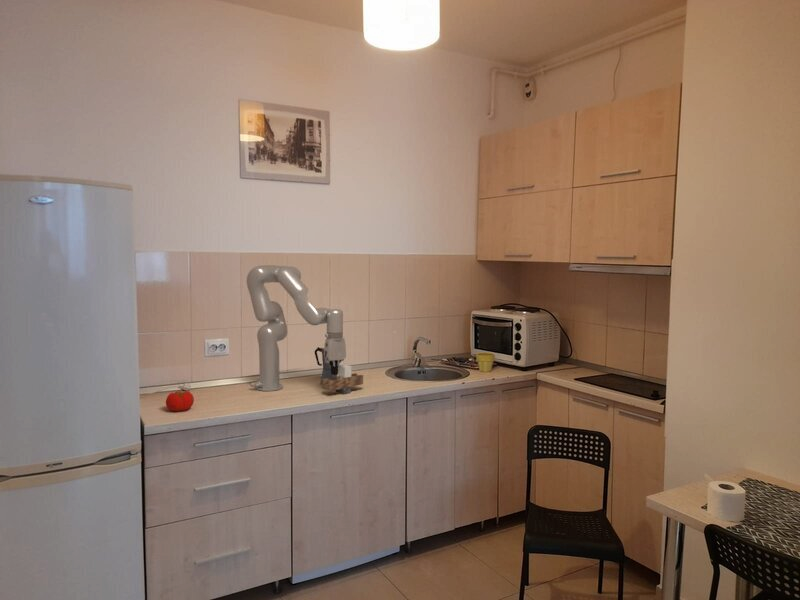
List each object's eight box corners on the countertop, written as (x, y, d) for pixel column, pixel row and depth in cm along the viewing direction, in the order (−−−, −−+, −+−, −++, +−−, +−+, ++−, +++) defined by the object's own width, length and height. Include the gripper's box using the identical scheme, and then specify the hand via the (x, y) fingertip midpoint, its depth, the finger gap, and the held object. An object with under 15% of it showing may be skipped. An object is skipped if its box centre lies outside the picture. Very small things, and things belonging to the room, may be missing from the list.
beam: (329, 397, 251) (330, 381, 251) (321, 394, 256) (321, 379, 255) (363, 390, 265) (363, 375, 265) (355, 387, 270) (355, 373, 269)
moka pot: (339, 386, 273) (339, 346, 271) (310, 384, 276) (310, 345, 274) (345, 381, 282) (345, 343, 281) (317, 380, 285) (317, 342, 284)
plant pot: (484, 368, 321) (484, 351, 320) (498, 371, 313) (498, 354, 312) (472, 370, 314) (472, 353, 313) (485, 373, 306) (486, 356, 306)
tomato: (196, 405, 235) (195, 388, 235) (190, 413, 224) (189, 395, 224) (170, 406, 234) (169, 389, 233) (163, 414, 223) (162, 396, 222)
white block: (344, 382, 258) (344, 367, 257) (338, 380, 261) (338, 365, 261) (351, 381, 260) (351, 366, 260) (344, 379, 264) (344, 364, 263)
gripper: (326, 338, 247) (326, 378, 249) (352, 335, 258) (351, 373, 259) (316, 336, 252) (316, 375, 254) (342, 333, 263) (342, 370, 264)
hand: (334, 374), depth 257 cm, fingers closed
